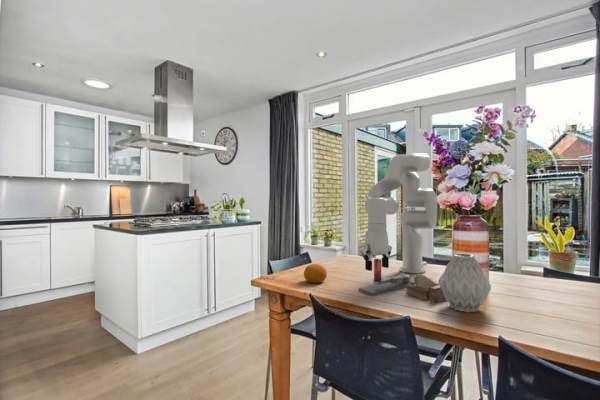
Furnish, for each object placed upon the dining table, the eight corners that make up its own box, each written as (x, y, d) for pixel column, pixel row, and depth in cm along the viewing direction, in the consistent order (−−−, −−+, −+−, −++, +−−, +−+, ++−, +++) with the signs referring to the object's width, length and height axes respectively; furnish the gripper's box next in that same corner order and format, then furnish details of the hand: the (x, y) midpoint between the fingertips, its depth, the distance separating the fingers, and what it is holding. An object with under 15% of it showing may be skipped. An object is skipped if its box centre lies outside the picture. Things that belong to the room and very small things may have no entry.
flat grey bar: (400, 280, 145) (400, 275, 145) (415, 284, 138) (415, 279, 138) (358, 291, 130) (358, 285, 130) (373, 295, 124) (373, 289, 124)
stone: (436, 294, 128) (445, 278, 123) (434, 306, 123) (443, 290, 118) (411, 283, 132) (418, 266, 126) (407, 294, 127) (415, 278, 121)
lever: (403, 277, 143) (403, 253, 143) (414, 279, 139) (413, 255, 139) (371, 284, 132) (370, 259, 132) (381, 287, 127) (381, 261, 127)
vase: (428, 303, 114) (428, 252, 114) (465, 298, 119) (465, 249, 119) (463, 320, 99) (462, 261, 98) (504, 314, 103) (503, 257, 103)
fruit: (327, 285, 140) (327, 267, 140) (303, 285, 140) (303, 267, 140) (326, 278, 151) (325, 262, 151) (304, 279, 151) (303, 262, 151)
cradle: (426, 288, 133) (426, 276, 133) (454, 295, 123) (454, 283, 122) (406, 293, 126) (406, 281, 126) (435, 302, 115) (434, 288, 115)
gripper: (384, 225, 139) (384, 264, 138) (355, 227, 129) (355, 269, 129) (398, 227, 132) (398, 267, 132) (368, 229, 123) (368, 273, 123)
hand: (377, 268), depth 131 cm, fingers open, 9 cm apart
